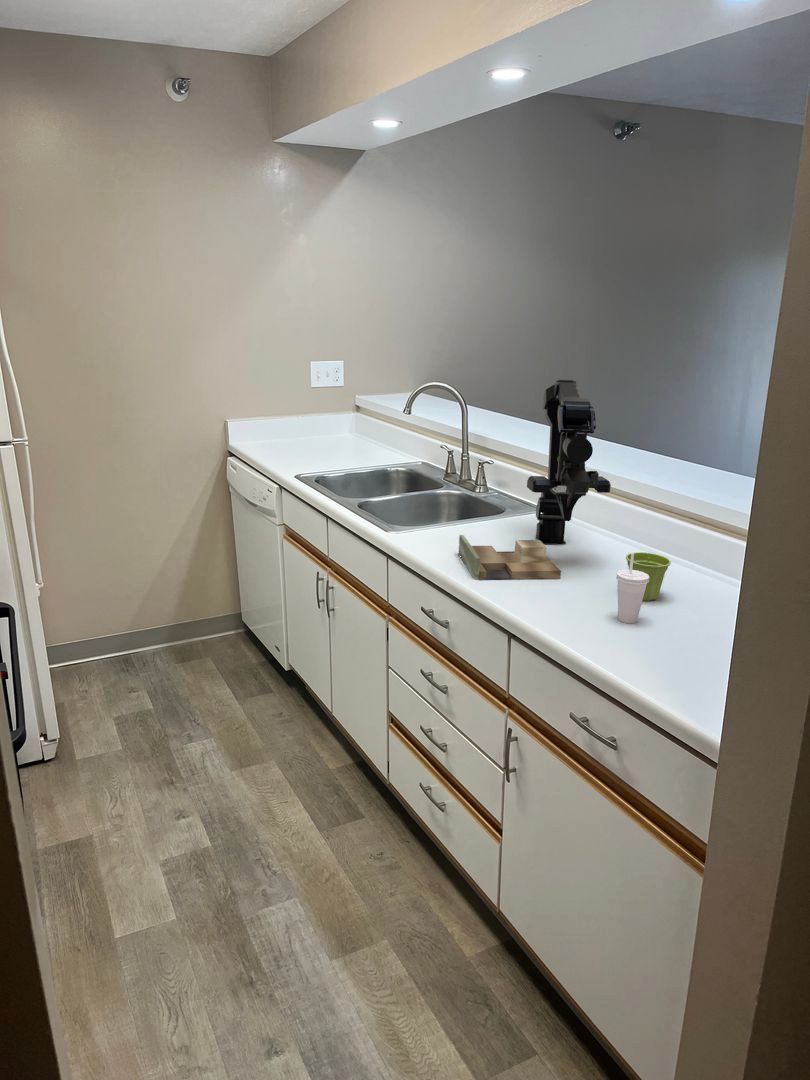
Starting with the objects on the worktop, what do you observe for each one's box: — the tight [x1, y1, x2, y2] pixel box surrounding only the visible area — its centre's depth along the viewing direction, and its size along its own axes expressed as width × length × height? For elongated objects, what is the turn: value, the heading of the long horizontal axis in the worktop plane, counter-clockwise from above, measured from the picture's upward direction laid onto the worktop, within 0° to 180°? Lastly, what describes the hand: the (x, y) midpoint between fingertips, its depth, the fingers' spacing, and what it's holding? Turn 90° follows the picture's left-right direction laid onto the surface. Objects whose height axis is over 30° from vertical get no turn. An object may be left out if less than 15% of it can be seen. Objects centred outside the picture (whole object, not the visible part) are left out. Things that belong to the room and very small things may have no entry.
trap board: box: [458, 534, 562, 581], centre depth 193 cm, size 20×20×5 cm
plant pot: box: [625, 551, 672, 602], centre depth 175 cm, size 9×9×9 cm
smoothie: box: [615, 552, 649, 624], centre depth 161 cm, size 6×6×14 cm
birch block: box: [514, 539, 548, 562], centre depth 194 cm, size 6×6×4 cm
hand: (565, 519), depth 193 cm, fingers closed
